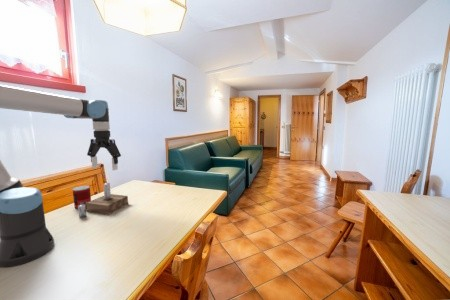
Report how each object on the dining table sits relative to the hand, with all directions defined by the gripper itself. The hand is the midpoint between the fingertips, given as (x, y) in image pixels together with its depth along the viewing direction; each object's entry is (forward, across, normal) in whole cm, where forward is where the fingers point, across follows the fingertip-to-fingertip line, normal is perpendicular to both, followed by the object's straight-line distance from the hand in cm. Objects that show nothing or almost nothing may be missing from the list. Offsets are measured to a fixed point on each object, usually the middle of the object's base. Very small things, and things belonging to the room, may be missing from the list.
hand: (105, 169), depth 107 cm
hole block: (+22, 0, 0) cm, 22 cm away
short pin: (+22, +4, +12) cm, 26 cm away
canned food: (+23, +16, +2) cm, 28 cm away
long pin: (+22, 0, 0) cm, 22 cm away
